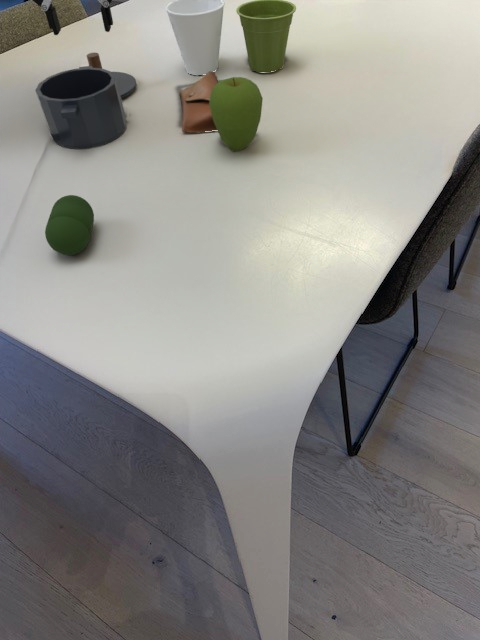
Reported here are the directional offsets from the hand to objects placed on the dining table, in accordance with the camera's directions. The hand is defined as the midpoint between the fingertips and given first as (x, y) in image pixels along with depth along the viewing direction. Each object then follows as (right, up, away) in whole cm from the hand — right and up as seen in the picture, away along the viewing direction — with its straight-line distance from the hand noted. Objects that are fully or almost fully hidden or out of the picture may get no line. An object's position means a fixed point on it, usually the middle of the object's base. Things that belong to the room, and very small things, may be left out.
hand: (83, 31), depth 94 cm
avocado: (+7, -44, -25) cm, 51 cm away
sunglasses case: (+23, -15, 0) cm, 27 cm away
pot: (+2, -20, -3) cm, 20 cm away
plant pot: (+36, -1, +12) cm, 38 cm away
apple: (+30, -26, -10) cm, 41 cm away
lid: (+1, -7, +8) cm, 11 cm away
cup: (+22, -1, +13) cm, 26 cm away
